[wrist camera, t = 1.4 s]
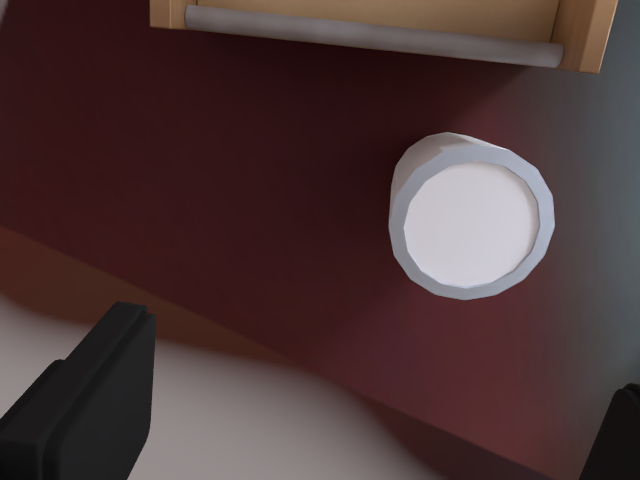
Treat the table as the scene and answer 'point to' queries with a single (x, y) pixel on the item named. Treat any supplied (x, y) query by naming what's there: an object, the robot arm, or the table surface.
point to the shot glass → (467, 216)
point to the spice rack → (416, 26)
